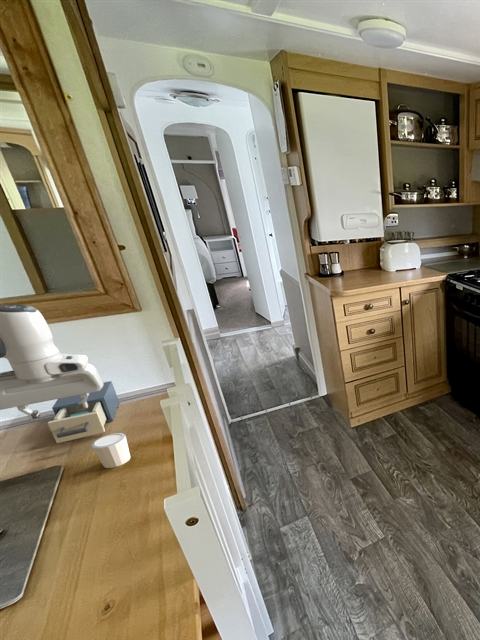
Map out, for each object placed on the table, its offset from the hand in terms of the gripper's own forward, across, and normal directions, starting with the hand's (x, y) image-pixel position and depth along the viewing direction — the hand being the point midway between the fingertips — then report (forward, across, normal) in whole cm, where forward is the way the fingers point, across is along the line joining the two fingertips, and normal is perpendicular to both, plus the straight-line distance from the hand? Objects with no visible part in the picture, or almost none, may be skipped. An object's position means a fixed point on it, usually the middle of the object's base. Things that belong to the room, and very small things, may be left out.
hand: (60, 412), depth 102 cm
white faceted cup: (+13, +10, -12) cm, 20 cm away
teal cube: (+11, 0, +11) cm, 15 cm away
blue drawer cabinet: (+13, 0, +22) cm, 25 cm away
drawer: (+12, 0, +10) cm, 16 cm away
